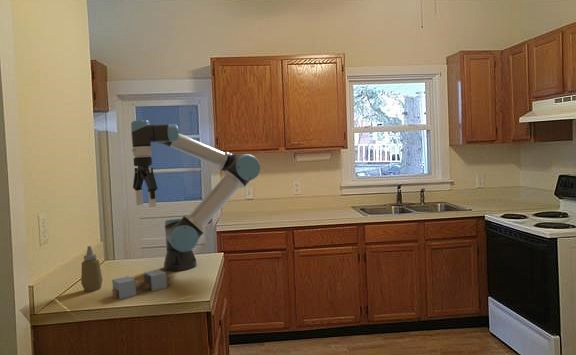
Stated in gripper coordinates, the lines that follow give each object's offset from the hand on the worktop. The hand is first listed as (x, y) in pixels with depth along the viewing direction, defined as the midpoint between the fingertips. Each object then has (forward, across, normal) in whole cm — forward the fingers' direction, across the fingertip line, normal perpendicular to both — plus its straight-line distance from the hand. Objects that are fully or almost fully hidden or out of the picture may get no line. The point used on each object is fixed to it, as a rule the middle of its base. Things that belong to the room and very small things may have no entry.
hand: (146, 205), depth 198 cm
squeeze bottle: (+32, -2, -24) cm, 40 cm away
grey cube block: (+31, +17, -5) cm, 36 cm away
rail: (+32, +17, -11) cm, 38 cm away
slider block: (+31, +17, -18) cm, 40 cm away
